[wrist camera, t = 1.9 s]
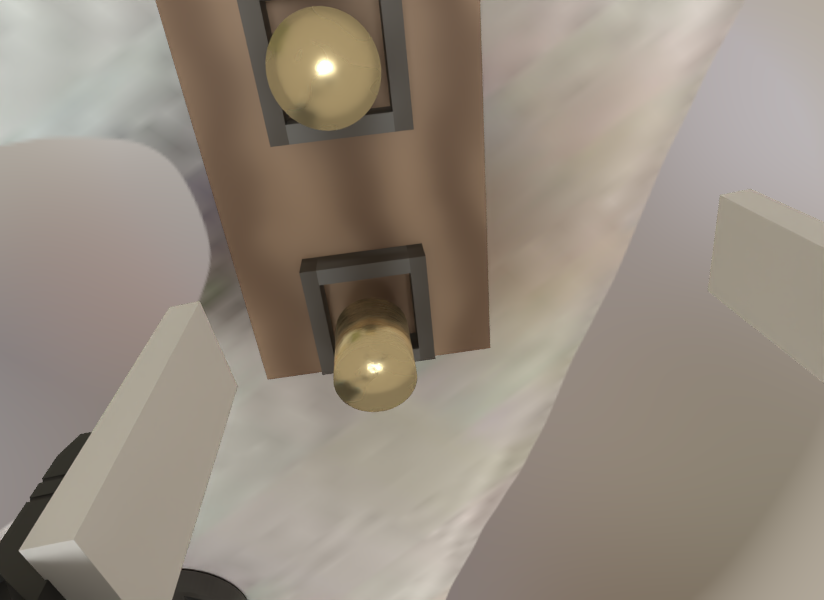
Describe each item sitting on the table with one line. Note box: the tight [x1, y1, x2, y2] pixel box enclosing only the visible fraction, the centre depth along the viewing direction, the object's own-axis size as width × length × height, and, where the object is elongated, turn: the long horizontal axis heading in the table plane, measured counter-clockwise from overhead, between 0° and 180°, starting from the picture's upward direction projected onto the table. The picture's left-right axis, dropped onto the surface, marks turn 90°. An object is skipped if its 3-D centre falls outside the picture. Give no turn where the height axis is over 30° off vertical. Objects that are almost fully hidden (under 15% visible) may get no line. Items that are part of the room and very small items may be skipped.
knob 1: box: [265, 6, 381, 131], centre depth 22 cm, size 4×4×5 cm
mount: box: [156, 0, 490, 379], centre depth 32 cm, size 16×25×7 cm, turn 6°
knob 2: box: [334, 298, 417, 412], centre depth 29 cm, size 4×4×5 cm
